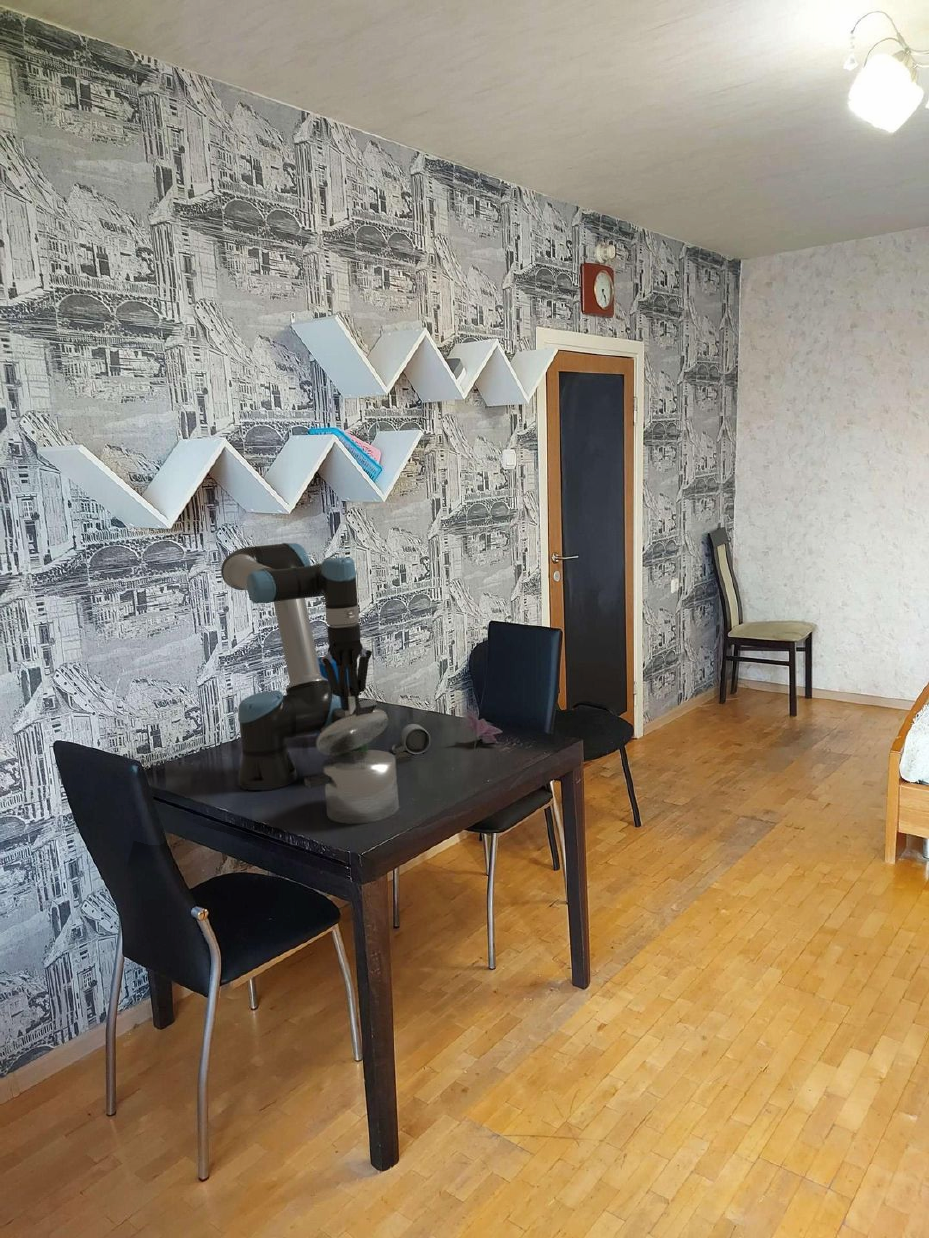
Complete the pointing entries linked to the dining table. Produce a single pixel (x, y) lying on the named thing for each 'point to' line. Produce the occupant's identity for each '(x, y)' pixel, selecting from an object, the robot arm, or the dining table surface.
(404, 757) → the steel pot
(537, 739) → the dining table surface
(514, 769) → the dining table surface
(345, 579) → the robot arm
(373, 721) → the pot lid
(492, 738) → the lily
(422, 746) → the ceramic mug
